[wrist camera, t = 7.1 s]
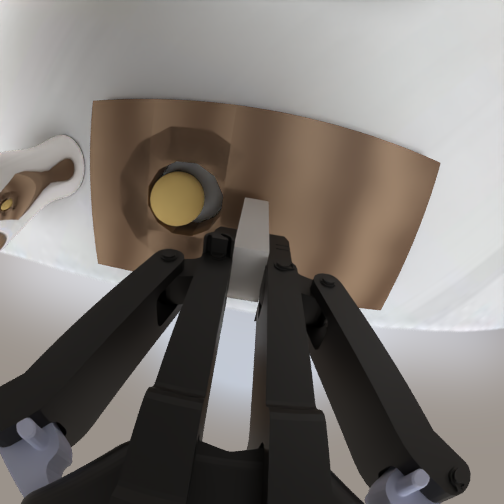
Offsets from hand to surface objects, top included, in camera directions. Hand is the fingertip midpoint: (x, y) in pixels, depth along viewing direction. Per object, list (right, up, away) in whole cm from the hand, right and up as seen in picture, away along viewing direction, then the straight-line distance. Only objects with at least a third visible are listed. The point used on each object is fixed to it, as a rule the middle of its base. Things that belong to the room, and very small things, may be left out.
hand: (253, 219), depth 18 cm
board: (0, +2, +3) cm, 4 cm away
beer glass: (-18, +6, +2) cm, 19 cm away
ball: (-5, +2, +2) cm, 6 cm away
